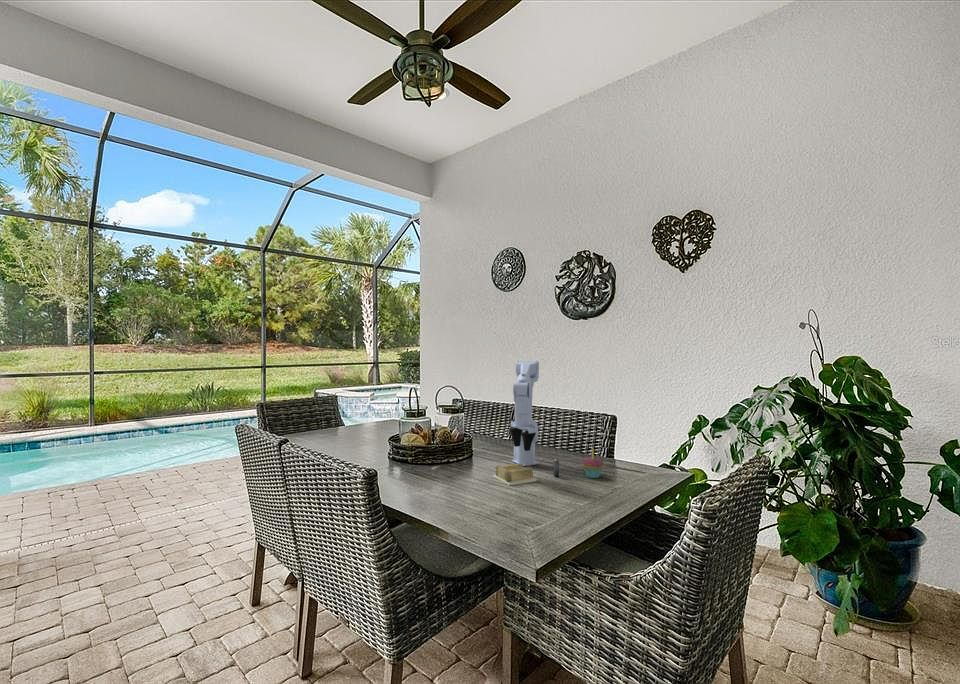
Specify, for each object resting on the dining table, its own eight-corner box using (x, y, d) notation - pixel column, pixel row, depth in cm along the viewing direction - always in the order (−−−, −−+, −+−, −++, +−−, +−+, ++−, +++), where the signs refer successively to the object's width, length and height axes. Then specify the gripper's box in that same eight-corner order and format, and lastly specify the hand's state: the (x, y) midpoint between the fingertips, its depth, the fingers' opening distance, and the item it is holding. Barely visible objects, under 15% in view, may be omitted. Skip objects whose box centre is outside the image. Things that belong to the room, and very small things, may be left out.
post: (552, 475, 176) (552, 458, 176) (557, 475, 177) (557, 458, 177) (555, 477, 174) (555, 460, 174) (560, 476, 175) (560, 459, 175)
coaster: (493, 476, 175) (493, 475, 175) (519, 472, 181) (519, 471, 181) (508, 485, 165) (508, 484, 165) (536, 481, 170) (536, 479, 170)
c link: (495, 475, 175) (495, 466, 175) (520, 472, 180) (520, 463, 180) (507, 482, 167) (507, 472, 167) (532, 478, 172) (532, 468, 172)
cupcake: (605, 480, 171) (605, 447, 171) (581, 479, 172) (581, 447, 172) (602, 473, 180) (602, 442, 180) (580, 472, 181) (580, 442, 181)
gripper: (504, 411, 182) (504, 445, 183) (522, 417, 169) (522, 453, 170) (519, 410, 185) (519, 443, 186) (538, 415, 172) (538, 451, 173)
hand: (522, 448), depth 178 cm, fingers open, 7 cm apart
